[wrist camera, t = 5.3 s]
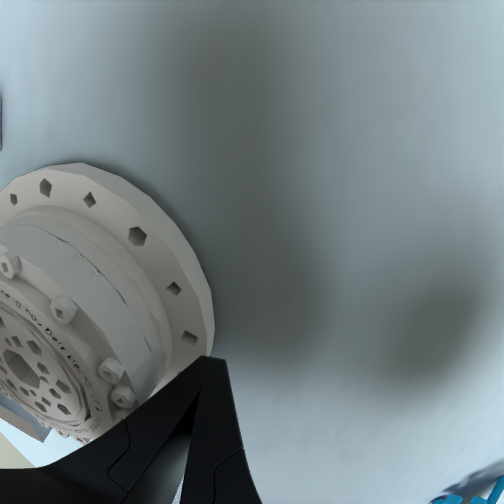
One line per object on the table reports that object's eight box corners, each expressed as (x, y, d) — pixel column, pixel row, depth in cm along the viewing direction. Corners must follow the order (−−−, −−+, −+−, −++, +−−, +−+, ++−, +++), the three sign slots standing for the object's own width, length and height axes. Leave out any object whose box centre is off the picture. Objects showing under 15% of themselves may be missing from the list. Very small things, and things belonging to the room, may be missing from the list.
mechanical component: (218, 159, 8) (-12, 168, 9) (150, 200, 4) (-93, 201, 5) (219, 407, 12) (38, 359, 13) (195, 496, 8) (-6, 414, 9)
